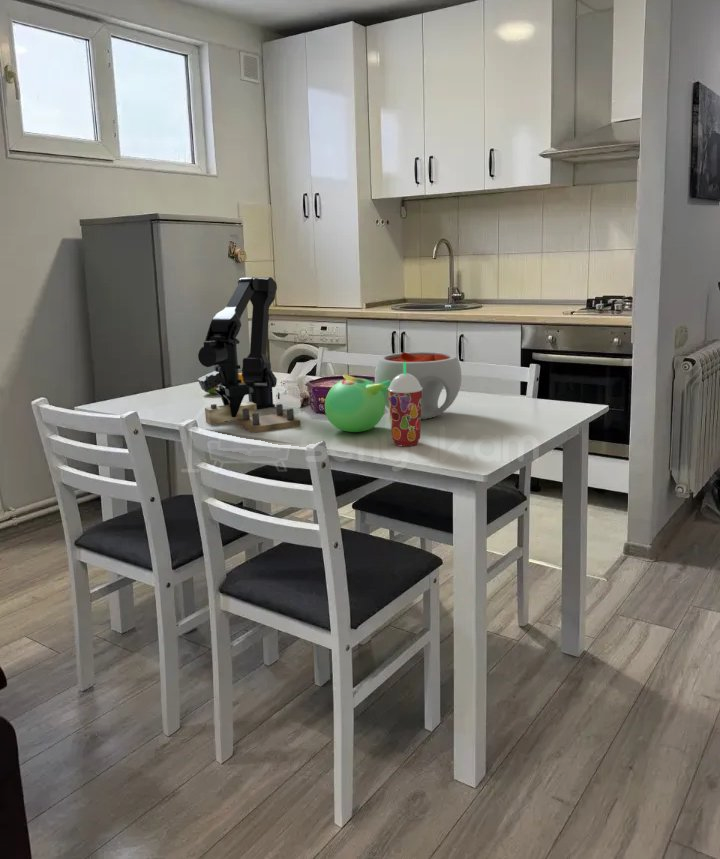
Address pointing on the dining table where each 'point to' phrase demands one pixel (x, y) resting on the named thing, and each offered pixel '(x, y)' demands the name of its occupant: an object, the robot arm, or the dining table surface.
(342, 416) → the toy bird
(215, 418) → the wooden block
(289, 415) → the peg rest
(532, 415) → the dining table surface
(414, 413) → the smoothie
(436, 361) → the pot
